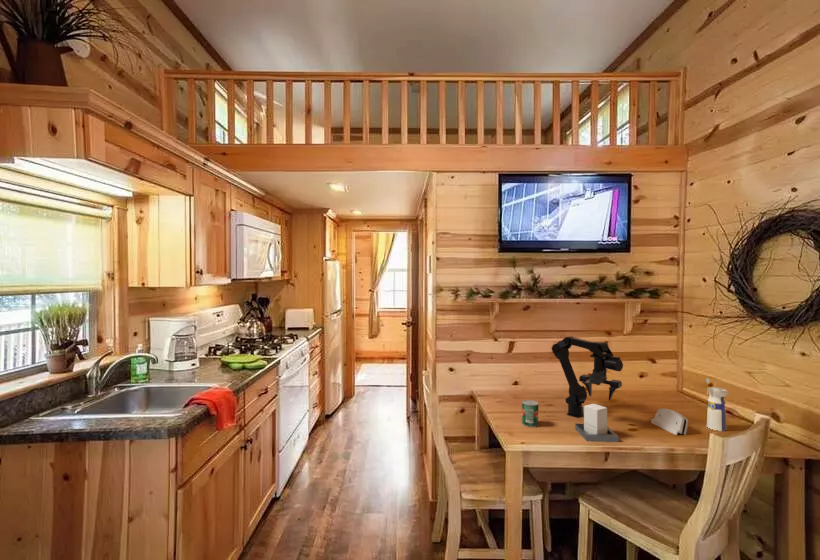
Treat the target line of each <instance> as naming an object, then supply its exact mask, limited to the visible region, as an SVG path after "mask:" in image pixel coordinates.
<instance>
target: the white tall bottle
mask: <svg viewBox="0 0 820 560" xmlns="http://www.w3.org/2000/svg"><path fill="white" fill-rule="evenodd" d="M705 381H706V382H705V383H706V384H708V385H710V382H711V380H710V378H709V377H707V378H705ZM708 394H709V396H708ZM729 394H730V393H729V392H728V390H727V389H725V388H723V387H718V386H711V387H707V391H706V395H707V396H708V398H707V401H708V402H707V406H708V407H707V409H706V411H707V414H706V415H707V417H706V428H707V427H708V428H707V429H709V428H710V430H712V429H713V430H712V431H716V430H718V431H717V432H725V431H724V430H726V431H727V411H726V403H727V402H726V400H725V397H726V396H727V397H728V396H729Z"/></svg>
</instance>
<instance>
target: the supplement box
mask: <svg viewBox="0 0 820 560" xmlns="http://www.w3.org/2000/svg"><path fill="white" fill-rule="evenodd" d="M583 424H584V430H585V431H586V432H587V433H588V434H605V435H607V427H608V408H607V407H606V406H603V405H599V404H597V403H591V404H586V405H583Z"/></svg>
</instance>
